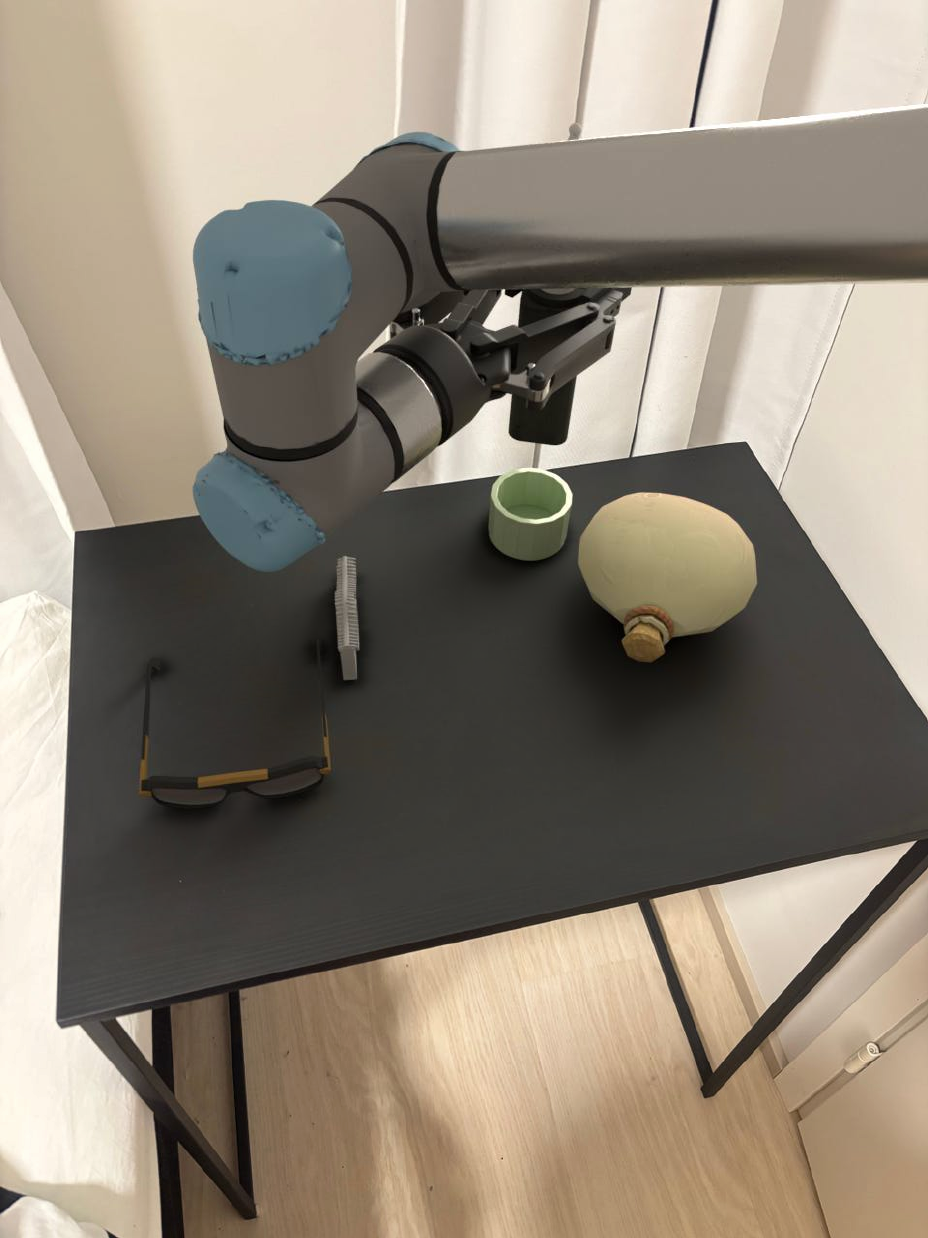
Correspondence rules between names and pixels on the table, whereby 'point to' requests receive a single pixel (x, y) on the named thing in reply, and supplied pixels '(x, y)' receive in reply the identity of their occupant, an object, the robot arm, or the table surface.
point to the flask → (666, 568)
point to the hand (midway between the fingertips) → (592, 261)
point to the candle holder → (529, 513)
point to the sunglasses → (219, 787)
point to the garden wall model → (347, 616)
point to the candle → (556, 413)
